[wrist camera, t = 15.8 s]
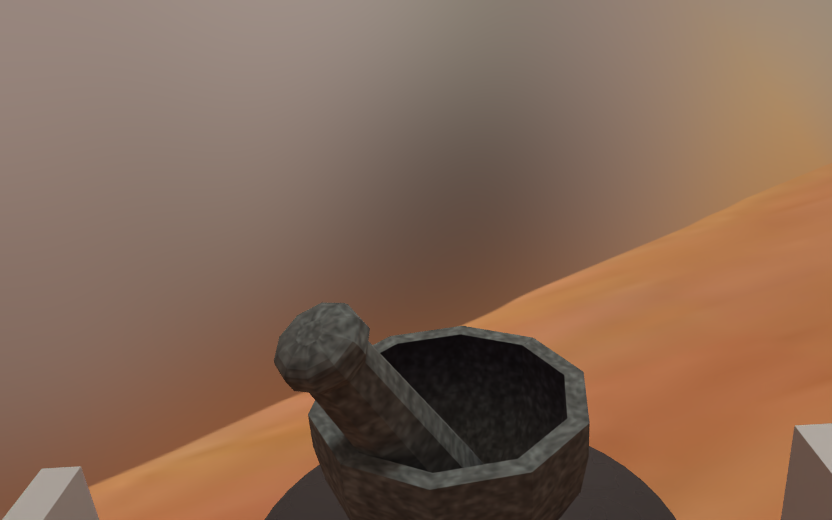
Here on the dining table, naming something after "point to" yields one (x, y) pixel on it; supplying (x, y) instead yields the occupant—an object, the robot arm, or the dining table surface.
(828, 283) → the dining table surface
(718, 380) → the dining table surface
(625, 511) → the disc
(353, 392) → the mortar and pestle
